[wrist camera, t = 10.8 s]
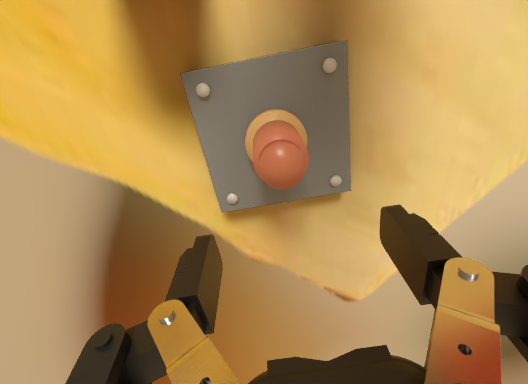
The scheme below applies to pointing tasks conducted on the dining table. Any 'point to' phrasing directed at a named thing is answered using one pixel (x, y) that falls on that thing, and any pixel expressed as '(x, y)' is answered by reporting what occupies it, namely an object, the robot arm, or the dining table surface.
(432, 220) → the dining table surface
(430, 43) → the dining table surface
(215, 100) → the square plate with knob
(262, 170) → the orange rounded knob
